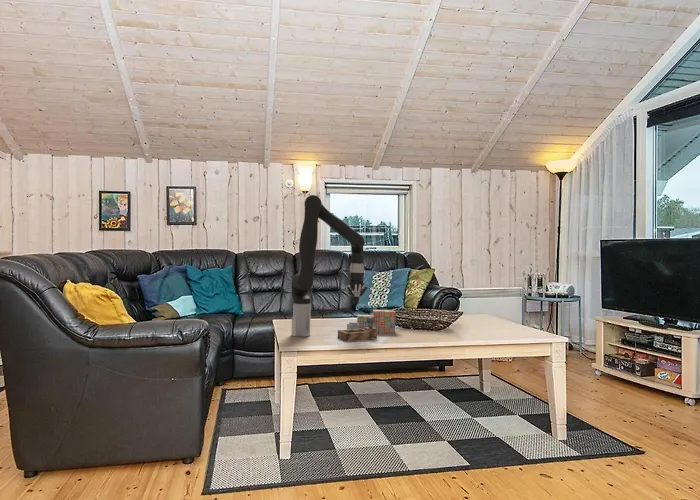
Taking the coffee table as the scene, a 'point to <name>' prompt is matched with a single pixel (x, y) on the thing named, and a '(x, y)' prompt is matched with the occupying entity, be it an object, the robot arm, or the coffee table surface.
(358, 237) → the robot arm
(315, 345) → the coffee table surface
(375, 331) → the chassis
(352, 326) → the block
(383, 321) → the stack of blocks
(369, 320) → the wheel
